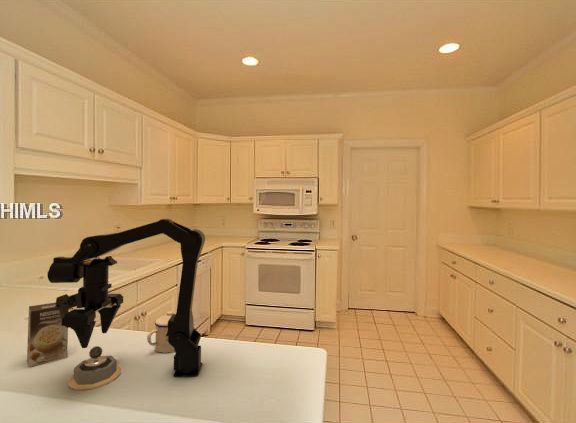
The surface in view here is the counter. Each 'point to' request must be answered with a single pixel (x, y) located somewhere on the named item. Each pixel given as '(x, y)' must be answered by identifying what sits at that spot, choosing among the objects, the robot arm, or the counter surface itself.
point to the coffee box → (46, 334)
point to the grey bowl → (94, 375)
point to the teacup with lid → (161, 334)
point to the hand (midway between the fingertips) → (95, 340)
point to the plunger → (95, 358)
